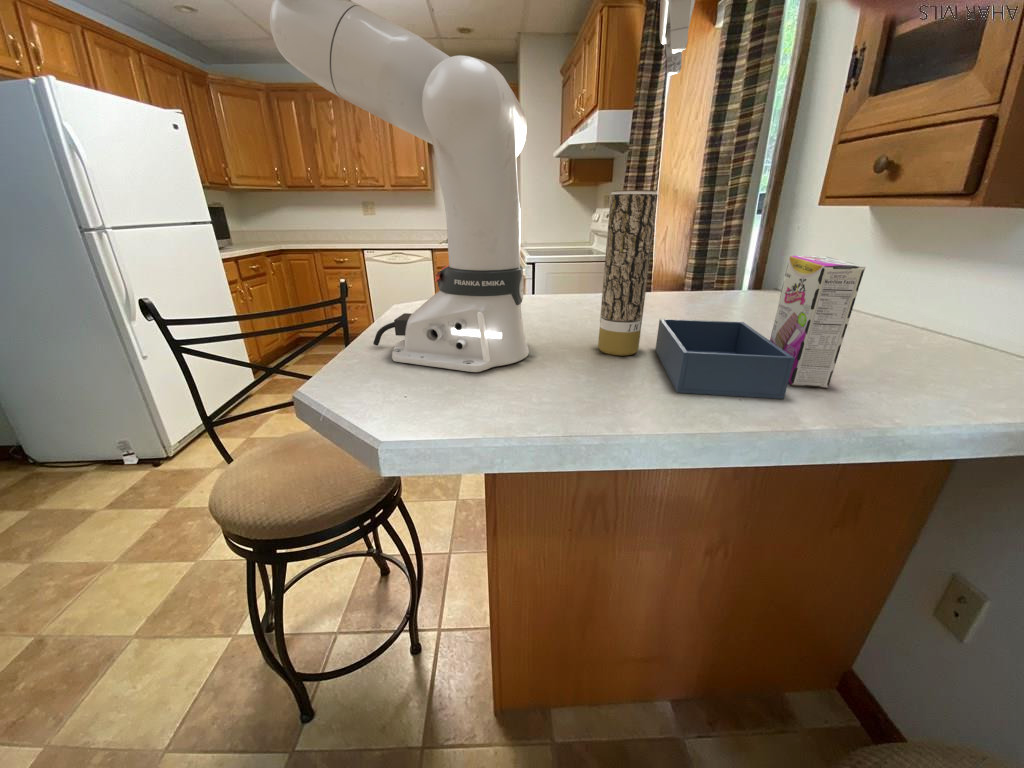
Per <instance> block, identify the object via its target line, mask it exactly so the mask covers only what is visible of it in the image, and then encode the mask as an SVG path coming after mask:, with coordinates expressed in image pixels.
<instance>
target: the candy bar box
mask: <svg viewBox="0 0 1024 768" xmlns="http://www.w3.org/2000/svg"><path fill="white" fill-rule="evenodd" d="M866 267H867V266H864V265H862V264H857V263H853V262H849V261H845V260H841V259H837V258H834V257H829V256H824V255H790V256H788V262H787V266H786V270H785V274H784V279H783V283H782V287H781V291H780V295H779V299H778V304H777V309H776V313H775V317H774V320H773V327H772V330H771V334H770V337H769V340H770V341H771V342H772V343H774V344H775V345H777V346H778V347H780V348H781V349H782V350H784V351H785V352H787V353H788V354H790V355H791V356H793V357H794V358H795V360H794V363H793V367H792V371H791V374H790V378H789V381H788V384H789V385H791V386H795V387H801V388H802V387H806V388H822V389H823V388H825V389H828V388H829V386H830V383H831V380H832V376H833V374H834V370H835V367H836V364H837V360H838V358H839V354H840V352H841V347H842V344H843V341H844V337H845V334H846V331H847V328H848V326H849V321H850V318H851V315H852V312H853V309H854V305H855V302H856V299H857V295H858V292H859V288H860V285H861V282H862V279H863V275H864V273H865V270H866Z"/></svg>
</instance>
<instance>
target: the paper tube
mask: <svg viewBox="0 0 1024 768" xmlns="http://www.w3.org/2000/svg"><path fill="white" fill-rule="evenodd" d="M658 196H659V194H658V191H657V190H653V189H651V190H650V189H649V190H648V189H630V190H629V189H627V190H611V193H610V199H609V200H610V201H609V211H608V222H607V233H606V235H607V236H606V247H605V259H604V260H605V261H604V270H603V281H602V293H601V306H600V318H599V330H598V341H597V342H598V343H597V347H598V350H600V351H601V352H602V353H604V354H607V355H612V356H620V357H621V356H631V355H634V354H636V353H637V352H638V351H639V348H640V340H641V332H642V326H643V325H642V324H643V317H644V309H645V308H644V307H645V300H646V293H647V284H648V277H649V270H650V269H649V268H650V260H651V252H652V246H653V245H652V244H653V235H654V229H655V222H656V221H655V220H656V214H657V213H656V212H657V204H658V198H659V197H658Z"/></svg>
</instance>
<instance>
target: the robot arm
mask: <svg viewBox="0 0 1024 768" xmlns="http://www.w3.org/2000/svg"><path fill="white" fill-rule="evenodd" d="M695 3H696V0H660V1H659V4H660V5H659V42H660V44H662V45H665V53H666V55H665V56H666V74H667V75H668V76H673V75H678V74H679V73H680V72H681V70H682V62H683V60H682V58H683V55H682V54H683V51H685V50H686V48H687V46H688V42H689V28H690V24H691V20H692V16H693V12H694V8H695ZM269 28H270V32H271V36H272V39H273V42H274V44H275V46H276V48H277V50H278V51H279V53H280V55H281V56H282V57H283V58H284V60H286V61H287V62H288V63H289V64H290V65H291V66H292V67H294V68H295V69H296V70H297V71H299V72H300V73H302V74H303V75H304V76H305V77H307V78H308V79H309V80H311V81H312V82H314V83H315V84H316V85H318V86H320V87H322V88H323V89H324V90H326V91H328V92H330V93H332V94H333V95H335V96H337V97H339V98H340V99H342V100H344V101H346V102H348V103H350V104H352V105H354V106H355V107H357V108H359V109H362V110H363V111H366V112H367V113H369V114H371V115H372V116H375V117H376V118H379V119H380V120H382V121H384V122H386V123H389V125H390V124H391V125H392V126H394V127H396V128H399V129H400V130H402V131H405V132H407V133H409V134H410V135H413V136H415V137H417V138H419V139H420V140H422V141H424V142H426V143H429V144H430V145H432V147H433V154H434V159H435V163H436V169H437V174H438V179H439V185H440V189H441V193H442V198H443V204H444V210H445V211H444V212H445V220H446V221H445V222H446V234H447V235H446V237H447V253H448V264H447V265H446V266H445V265H444V266H443V267H442V268H441V269H440V271H438V272H437V273H436V274H434V277H436V278H435V279H434V282H435V283H437V287H438V289H439V290H438V291H437V292H436V293H434V294H433V295H432V296H431V297H429V298H428V299H427V300H426V301H425V302H424V303H423V304H422V305H420V306H419V307H418V308H417V309H415V310H414V311H413V312H412V313H409V312H408V313H406V312H404V313H402V314H401V315H399V316H398V317H397V318H395V319H394V320H393V322H389V323H386V324H384V325H383V326H381V327H380V328H379V329H378V330H377V332H376V334H375V336H374V340H373V342H372V344H373V345H374V346H377V347H378V346H379V344H380V342H381V339H382V336H383V334H384V333H386V332H387V331H388V330H391V329H393V328H394V332H395V336H399V337H402V336H403V337H404V339H403V340H401V341H399V342H398V343H397V344H395V346H394V347H393V348H392V351H391V359H392V360H393V362H395V363H404V364H411V365H417V366H418V365H419V366H426V367H433V368H440V369H446V370H454V371H455V370H456V371H461V372H468V373H469V372H470V373H480V372H484V371H486V370H488V369H491V368H496V367H500V366H505V365H507V366H508V365H511V364H514V363H517V362H520V361H522V360H524V359H526V358H527V357H528V356H529V354H530V350H529V347H528V343H527V340H526V333H525V329H524V322H523V313H522V303H523V299H524V281H525V280H524V279H525V278H524V270H523V269H524V268H523V267H522V265H521V219H522V217H521V214H522V213H521V211H522V209H521V204H520V195H519V182H518V167H517V158H518V156H519V155H520V154H521V152H522V150H523V148H524V145H525V143H526V137H527V130H528V128H527V126H528V125H527V118H526V114H525V112H524V111H525V110H524V108H523V106H522V105H521V103H520V102H519V100H518V98H517V97H516V94H515V93H514V91H513V90H512V88H511V87H510V85H509V83H508V82H507V79H506V78H505V77H504V75H503V74H502V73H501V72H500V71H499V70H498V69H497V68H496V67H495V66H494V65H492V64H491V63H489V62H487V61H484V60H482V59H479V58H477V57H473V56H470V55H463V54H462V55H461V54H459V55H453V56H449V55H448V54H447V53H446V52H444V51H442V50H440V49H439V48H437V47H436V46H434V45H433V44H431V43H430V42H428V41H426V40H425V39H424V38H423V37H421V36H420V35H418V34H416V33H414V32H412V31H410V30H408V29H406V28H404V27H403V26H401V25H399V24H397V23H395V22H393V21H391V20H389V19H387V18H386V17H383V16H382V15H380V14H378V13H376V12H375V11H373V10H370V9H368V8H367V7H365V6H363V5H361V4H359V3H357V2H355V1H353V0H272V3H271V6H270V12H269Z"/></svg>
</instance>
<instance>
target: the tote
mask: <svg viewBox="0 0 1024 768" xmlns="http://www.w3.org/2000/svg"><path fill="white" fill-rule="evenodd" d="M654 351H655V353H656V355H657V357H658V359H659V361H660V363H661V364H662V366H663V369H664V370H665V372H666V374H667V376H668V378H669V380H670V381H671V383H672V386H673V388H674V389H675V391H676V393H680V394H695V395H711V396H714V395H715V396H726V397H727V396H730V397H743V398H744V397H745V398H760V399H761V398H762V399H777V400H784V399H785V396H786V391H787V388H788V384H789V382H788V381H789V378H790V374H791V371H792V367H793V363H794V360H795V358H794V357H793V356H791V355H790V354H788V353H787V352H785V351H784V350H782V349H781V348H780V347H778V346H777V345H775V344H774V343H772V342H771V341H770V339H768V338H767V337H765V336H764V335H762V334H761V333H759V332H758V331H757V330H755V329H754V328H752V327H751V326H750V325H749V324H747V323H745V322H744V321H729V320H728V321H727V320H726V321H725V320H699V319H677V318H676V319H675V318H674V319H673V318H659V321H658V329H657V335H656V342H655V349H654Z"/></svg>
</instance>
